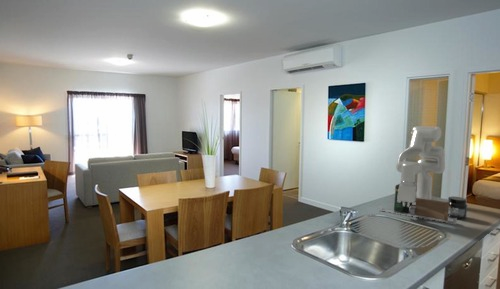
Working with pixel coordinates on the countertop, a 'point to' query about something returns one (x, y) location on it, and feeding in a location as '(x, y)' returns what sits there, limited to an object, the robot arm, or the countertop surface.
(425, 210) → the walnut screen
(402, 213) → the grey rail
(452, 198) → the supplement container
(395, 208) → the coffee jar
